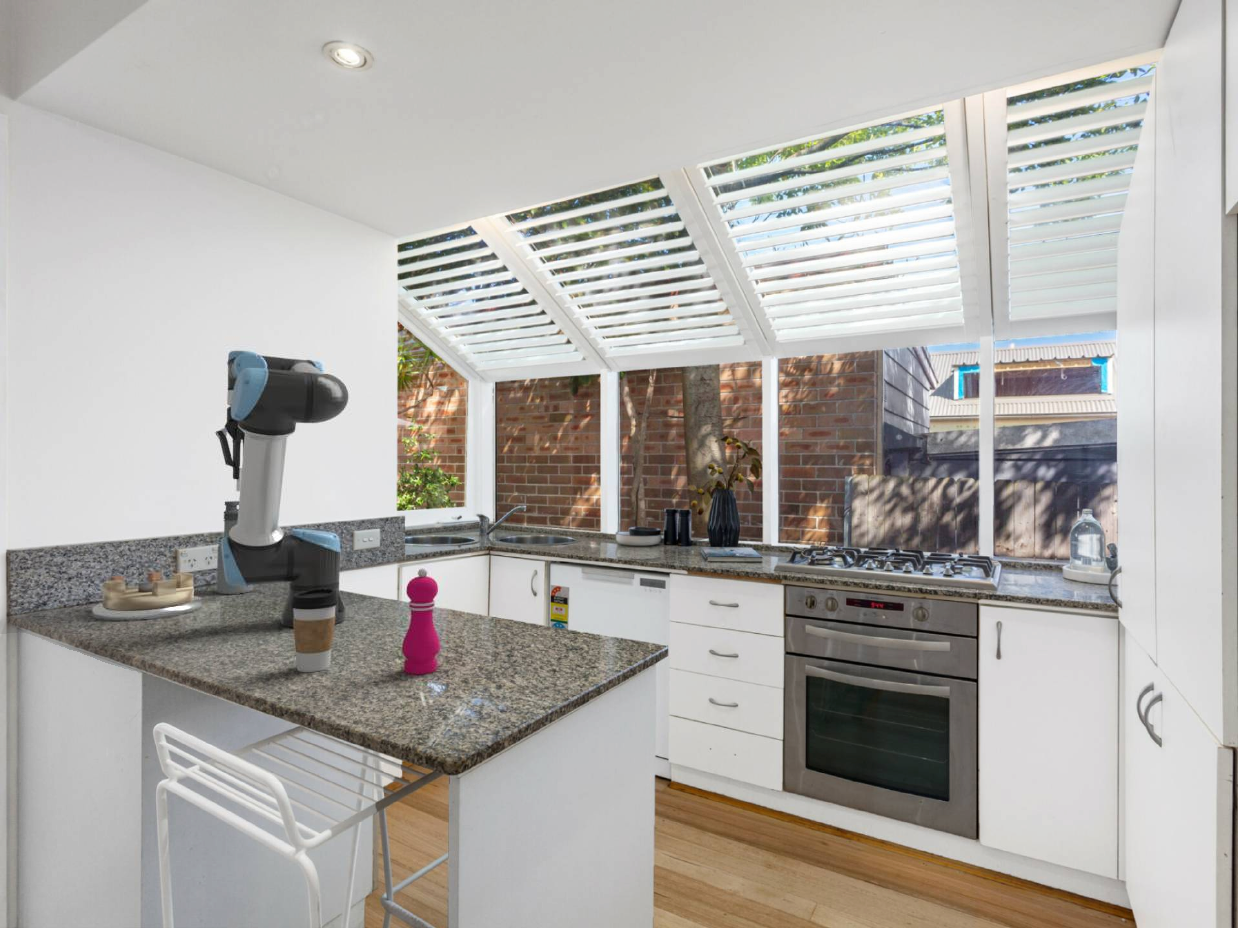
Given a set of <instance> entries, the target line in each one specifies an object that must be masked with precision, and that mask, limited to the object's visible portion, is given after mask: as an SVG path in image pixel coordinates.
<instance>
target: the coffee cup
mask: <svg viewBox="0 0 1238 928" xmlns="http://www.w3.org/2000/svg"><path fill="white" fill-rule="evenodd" d="M337 601H338V600H337V596H336V590H334V589H328V588H322V589H314V590H309V591H304V592H300V593H297V594H295V595H293V601H292V603H291V604H292V605H291V607H292V608H293V610H294V617H293V626H294V627H293V634H294V635H293V636H294V647H295V648H294V649H295V657H296V659H295V660H296V670H297V671H298V672H302V673H313V672H320V671H324V670H328V669H329V668H330V666H331V656H332V648H333V640H334V634H335V625H336V624H335V616H336V615H335V606H336V605H337V604H338V603H337Z"/></svg>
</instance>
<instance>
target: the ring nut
mask: <svg viewBox="0 0 1238 928" xmlns="http://www.w3.org/2000/svg"><path fill="white" fill-rule="evenodd" d="M102 583H103V584H102V590H103V591H102V603H103V607H104V608H107V609H114V610H140V609H153V608H162V607H169V606H175V605H180V604H184V603H188V602H190V601H192V600H193V599H194V596H195V595H194V593H195V592H194V589H195V587H194V573H189V572H179V573H173V574H172V579H170V578H169V579H164V580H163V579H162V572H158V571H150V572H147V581H146V582H145V581H144V582H140V583H138V585H137V586H136V585H135V586H128V587H126V581H125V576H122V575H114V576H113V575H112V576H109V580H105V581H103V582H102Z"/></svg>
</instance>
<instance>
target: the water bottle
mask: <svg viewBox="0 0 1238 928" xmlns="http://www.w3.org/2000/svg"><path fill="white" fill-rule="evenodd" d="M224 506H225V510H224V511H223V522H224V527H223V528H224V529H223V530H224V531H223V538H225V537H229V532H230V530H231V528H232V527H234V526H235V525H237V522H238V510H239V508H238V506H239V500H230V501H229V500H227V501H224ZM216 564H217V565H216V567H217V568H216V570H217V571H216V573H217V574H216V575H217V576H216V592H217V593H218V594H221V595H226V594H232V595H241V594H240V593H243V594H247V593H246V592H248V593H250V592H252V591H253V589H254V585H249V586H245V585H239V586H232V585H229V584H228V583H227V582H226V579H225V573H224V567H223V559H222V550H221V542H220V543H219V544H218V545H217V563H216Z"/></svg>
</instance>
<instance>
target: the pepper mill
mask: <svg viewBox="0 0 1238 928" xmlns="http://www.w3.org/2000/svg"><path fill="white" fill-rule="evenodd" d="M417 575H418V576H415V577H413V578H412V579H410V580H409V582H408V583H407V585H406V595H407V597H408V598H409V600H410V601H408V605H409V606H408V609H409V610H410V623H409V626H408V629H407V631H406V634H405V636H404V638H403V642H402V645H401V652H402V654H403V656H404V657H405V658H406V660H405V661H404V663H403V671H404V672H405V673H406V674H409V675H427V674H430V673H434V672H435V670H436V671H437V669H438V660H437V659H438V658H435V657H436V656H437V655H438V654H439V653H440V650H441V642H440V638H439V636H438V633H437V631H436V627H435V624H434V617H433V614H434V613H433V612H434V609H435V608H436V605H435V604H436V600H434V599H435V598H436V597H437V595H438V593H439V585H438V583H437V581H436V580H435V578H432V576H431V577H430V576H428V570H427V569H426V568H423V567H422V568H420V569H419V570H417Z"/></svg>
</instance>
